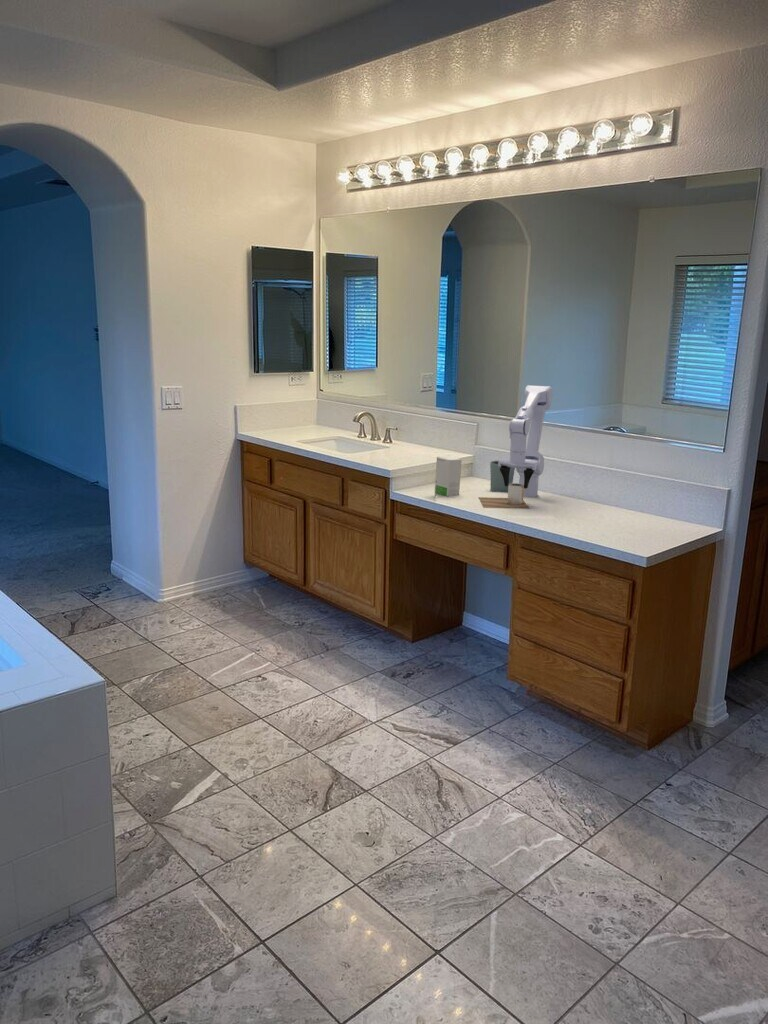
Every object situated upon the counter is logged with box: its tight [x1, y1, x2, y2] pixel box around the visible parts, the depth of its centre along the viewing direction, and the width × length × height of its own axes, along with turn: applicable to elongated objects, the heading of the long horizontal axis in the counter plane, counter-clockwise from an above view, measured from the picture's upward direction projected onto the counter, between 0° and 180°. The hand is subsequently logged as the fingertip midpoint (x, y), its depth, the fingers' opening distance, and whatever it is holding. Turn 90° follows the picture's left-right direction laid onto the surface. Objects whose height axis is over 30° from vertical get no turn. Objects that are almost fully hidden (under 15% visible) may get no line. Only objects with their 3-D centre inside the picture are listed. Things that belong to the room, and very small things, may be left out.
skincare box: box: [434, 455, 463, 497], centre depth 316 cm, size 8×7×16 cm
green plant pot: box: [489, 460, 516, 493], centre depth 327 cm, size 10×10×12 cm
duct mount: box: [478, 496, 531, 510], centre depth 303 cm, size 18×17×5 cm
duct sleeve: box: [507, 482, 524, 505], centre depth 303 cm, size 6×6×7 cm
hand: (516, 487), depth 302 cm, fingers open, 7 cm apart
